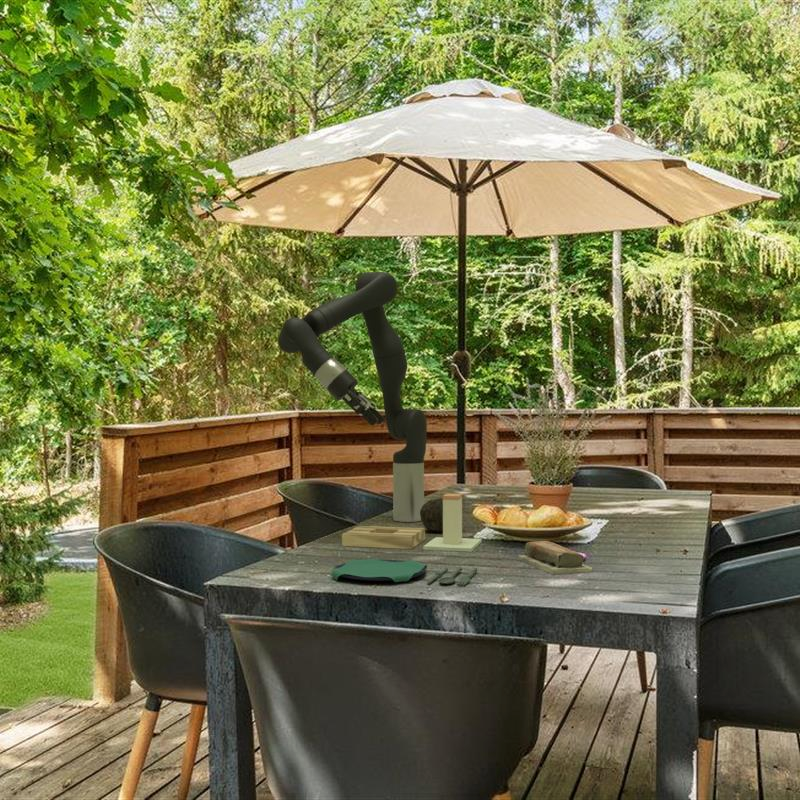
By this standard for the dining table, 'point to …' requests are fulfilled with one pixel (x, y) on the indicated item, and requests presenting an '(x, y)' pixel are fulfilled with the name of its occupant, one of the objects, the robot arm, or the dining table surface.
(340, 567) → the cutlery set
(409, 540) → the wooden peg board
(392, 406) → the robot arm
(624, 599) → the dining table surface
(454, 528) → the plug
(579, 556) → the packaged product
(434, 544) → the mat
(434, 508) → the rock
